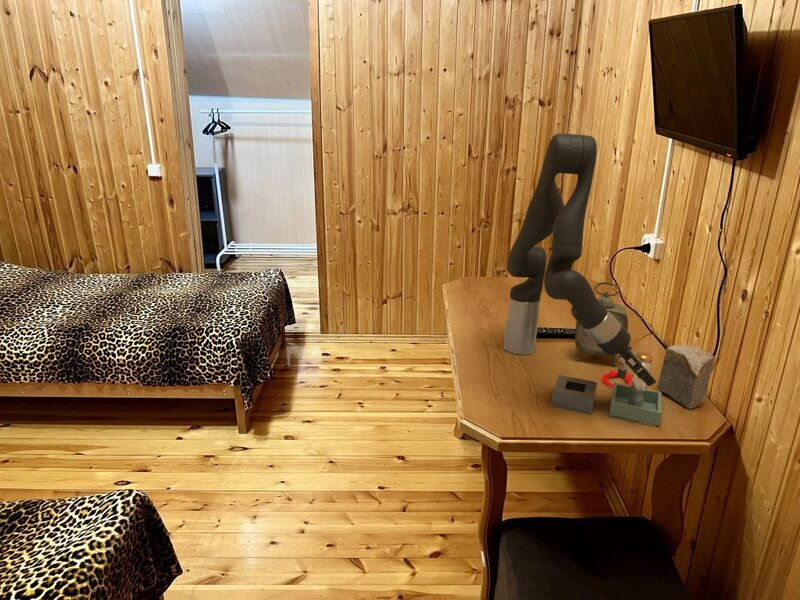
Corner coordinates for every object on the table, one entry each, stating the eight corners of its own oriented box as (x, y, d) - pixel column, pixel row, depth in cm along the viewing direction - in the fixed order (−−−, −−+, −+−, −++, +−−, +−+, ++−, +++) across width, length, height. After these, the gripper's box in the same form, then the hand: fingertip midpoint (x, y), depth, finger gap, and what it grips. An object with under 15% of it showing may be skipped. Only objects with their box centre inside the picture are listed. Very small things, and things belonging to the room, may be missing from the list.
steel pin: (626, 410, 146) (636, 356, 142) (627, 403, 149) (637, 351, 145) (641, 413, 145) (652, 359, 140) (641, 407, 148) (652, 353, 143)
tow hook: (627, 394, 157) (637, 380, 163) (634, 352, 152) (644, 339, 159) (597, 385, 161) (607, 372, 168) (602, 344, 156) (613, 332, 163)
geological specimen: (655, 392, 157) (665, 342, 152) (671, 388, 160) (682, 338, 155) (688, 410, 148) (699, 358, 143) (704, 406, 150) (716, 354, 145)
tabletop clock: (571, 361, 174) (581, 283, 166) (572, 349, 182) (582, 274, 174) (621, 369, 170) (635, 289, 161) (620, 356, 178) (633, 280, 170)
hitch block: (551, 406, 149) (552, 390, 147) (557, 389, 157) (558, 374, 156) (591, 415, 145) (593, 399, 143) (594, 397, 154) (597, 382, 152)
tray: (608, 416, 145) (611, 402, 143) (612, 395, 155) (614, 382, 153) (658, 427, 140) (661, 413, 139) (658, 405, 150) (661, 391, 149)
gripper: (628, 333, 133) (669, 380, 136) (610, 311, 146) (648, 354, 150) (602, 353, 135) (643, 398, 138) (587, 330, 148) (625, 371, 152)
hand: (646, 375), depth 144 cm, fingers open, 8 cm apart
